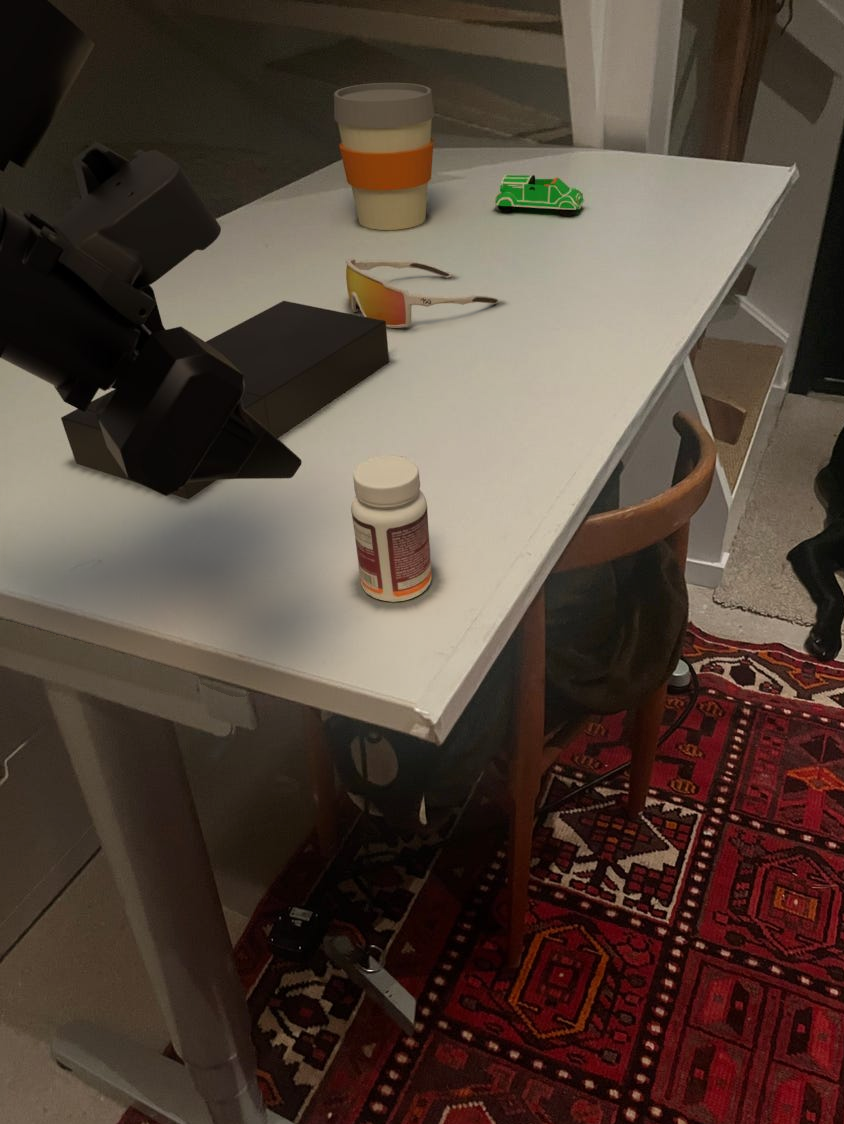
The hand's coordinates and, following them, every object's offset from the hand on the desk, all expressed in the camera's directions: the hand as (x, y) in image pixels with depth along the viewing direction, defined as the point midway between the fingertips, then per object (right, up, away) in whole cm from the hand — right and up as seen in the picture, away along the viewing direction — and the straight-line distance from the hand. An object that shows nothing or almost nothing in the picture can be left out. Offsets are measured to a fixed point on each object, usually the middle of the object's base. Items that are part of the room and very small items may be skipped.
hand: (262, 433), depth 50 cm
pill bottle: (+6, -8, +11) cm, 15 cm away
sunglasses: (+5, +25, +50) cm, 56 cm away
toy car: (+20, +47, +76) cm, 92 cm away
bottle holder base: (-9, +9, +31) cm, 34 cm away
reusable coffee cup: (0, +45, +74) cm, 87 cm away
